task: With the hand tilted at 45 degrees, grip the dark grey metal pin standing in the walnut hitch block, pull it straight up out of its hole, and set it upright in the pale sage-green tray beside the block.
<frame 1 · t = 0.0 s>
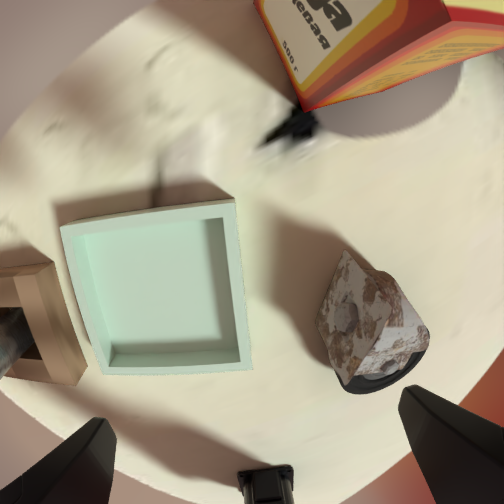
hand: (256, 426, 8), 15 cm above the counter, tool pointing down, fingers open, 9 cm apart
tray: (162, 289, 22), on the counter
caster wheel: (369, 320, 24), on the counter
hitch block: (29, 318, 22), on the counter
baking soda box: (319, 44, 18), on the counter
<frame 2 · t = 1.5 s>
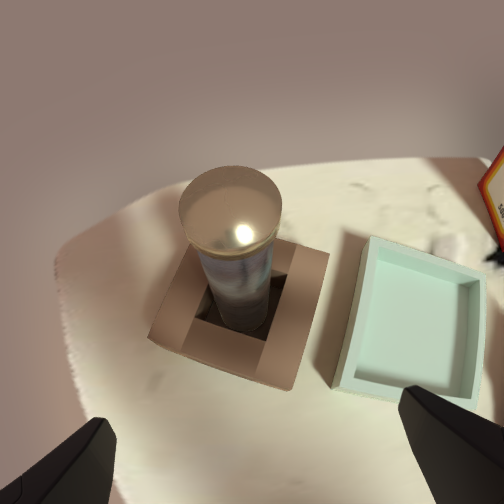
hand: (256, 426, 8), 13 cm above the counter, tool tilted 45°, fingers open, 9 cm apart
pin: (238, 273, 17), in the hitch block
tray: (415, 332, 22), on the counter
hitch block: (243, 309, 23), on the counter
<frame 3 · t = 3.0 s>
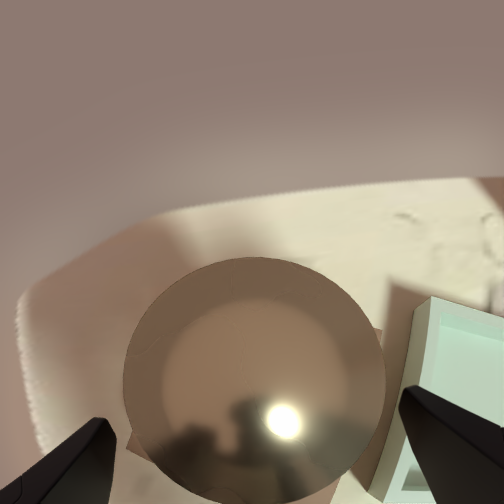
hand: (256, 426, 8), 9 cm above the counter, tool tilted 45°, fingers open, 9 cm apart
pin: (257, 396, 10), in the hitch block
tray: (469, 411, 14), on the counter
hitch block: (258, 400, 16), on the counter
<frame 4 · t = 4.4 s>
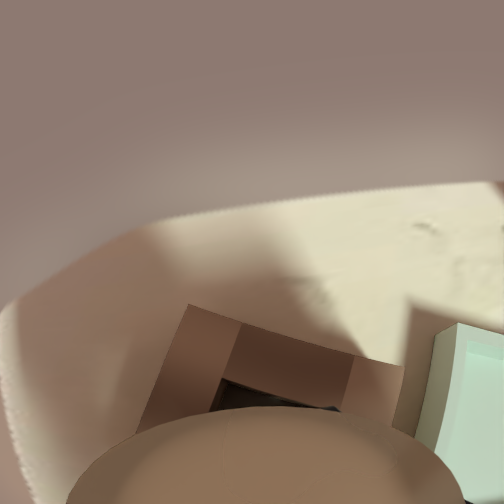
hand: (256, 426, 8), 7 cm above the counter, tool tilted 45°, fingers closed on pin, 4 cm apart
pin: (261, 469, 7), in the hitch block, touching gripper
tray: (488, 441, 11), on the counter
hitch block: (260, 443, 13), on the counter
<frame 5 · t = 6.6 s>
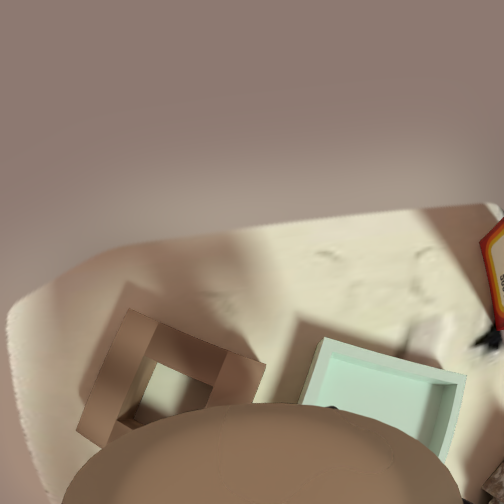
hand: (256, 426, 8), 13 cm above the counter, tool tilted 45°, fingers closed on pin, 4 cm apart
pin: (260, 469, 7), point 13 cm above the counter, touching gripper
tray: (367, 439, 18), on the counter
caster wheel: (501, 501, 12), on the counter
hitch block: (174, 405, 19), on the counter
when the fingers open (8 cm above the counter, at t = 9.1 s): pin stays where it is, resting on tray.
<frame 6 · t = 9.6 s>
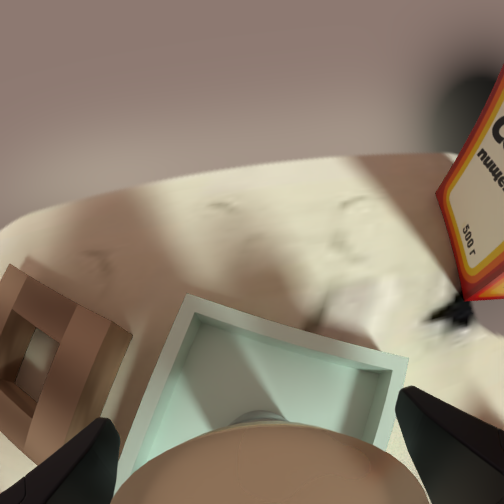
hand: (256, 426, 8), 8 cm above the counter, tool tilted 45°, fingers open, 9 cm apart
pin: (262, 468, 8), in the tray, point 7 cm above the counter
tray: (260, 440, 14), on the counter
hitch block: (46, 370, 16), on the counter
baking soda box: (478, 245, 20), on the counter
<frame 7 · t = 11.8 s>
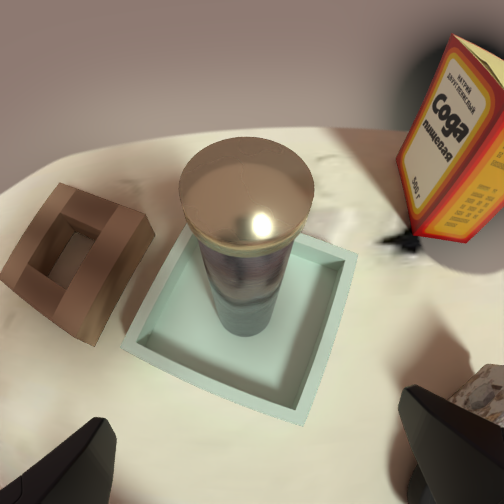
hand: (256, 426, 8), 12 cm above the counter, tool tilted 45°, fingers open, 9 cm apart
pin: (245, 271, 15), in the tray, point 7 cm above the counter
tray: (245, 312, 21), on the counter
caster wheel: (453, 454, 16), on the counter
hitch block: (78, 265, 22), on the counter
baking soda box: (430, 199, 27), on the counter
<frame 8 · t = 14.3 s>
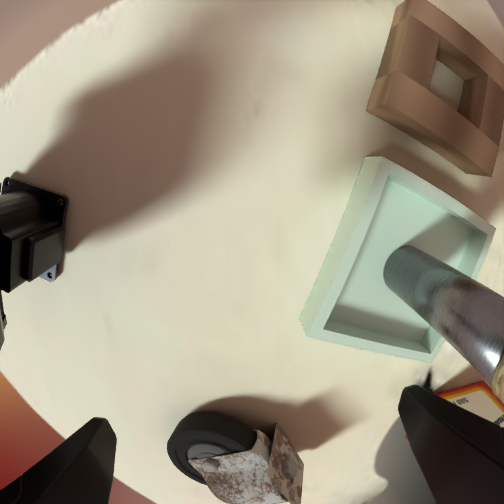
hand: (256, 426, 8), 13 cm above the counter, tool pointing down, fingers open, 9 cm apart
pin: (457, 307, 14), in the tray, point 7 cm above the counter
tray: (401, 266, 21), on the counter
caster wheel: (231, 440, 25), on the counter
hitch block: (437, 87, 17), on the counter
baking soda box: (445, 407, 27), on the counter
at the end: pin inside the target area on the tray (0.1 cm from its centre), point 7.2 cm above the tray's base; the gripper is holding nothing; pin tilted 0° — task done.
